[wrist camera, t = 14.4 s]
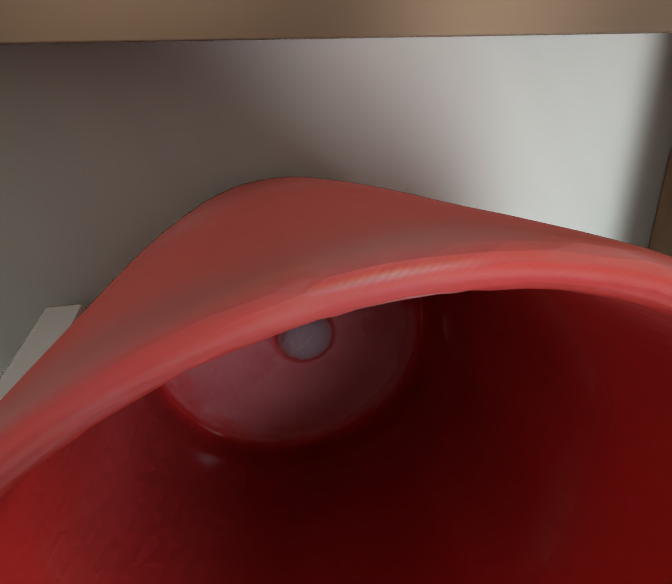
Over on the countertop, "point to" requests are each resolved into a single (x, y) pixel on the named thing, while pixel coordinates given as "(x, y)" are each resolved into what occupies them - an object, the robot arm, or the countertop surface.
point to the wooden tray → (335, 28)
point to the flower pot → (351, 404)
